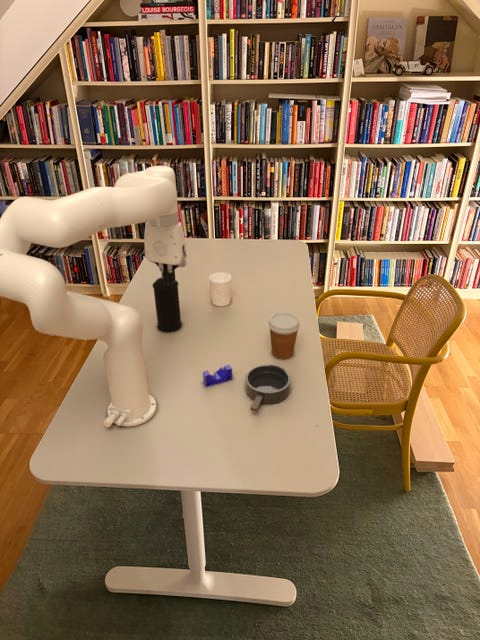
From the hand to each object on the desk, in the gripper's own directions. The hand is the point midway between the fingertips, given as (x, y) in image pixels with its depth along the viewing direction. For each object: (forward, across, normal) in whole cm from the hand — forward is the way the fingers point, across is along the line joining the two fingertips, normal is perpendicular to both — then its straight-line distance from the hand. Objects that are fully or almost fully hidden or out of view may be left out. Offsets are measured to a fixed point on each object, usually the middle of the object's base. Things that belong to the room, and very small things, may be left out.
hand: (169, 283), depth 129 cm
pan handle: (+25, +29, -11) cm, 39 cm away
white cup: (+27, -2, +39) cm, 48 cm away
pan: (+27, +29, -2) cm, 40 cm away
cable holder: (+27, +14, -3) cm, 31 cm away
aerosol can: (+27, -12, +18) cm, 35 cm away
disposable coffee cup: (+27, +28, +16) cm, 42 cm away
